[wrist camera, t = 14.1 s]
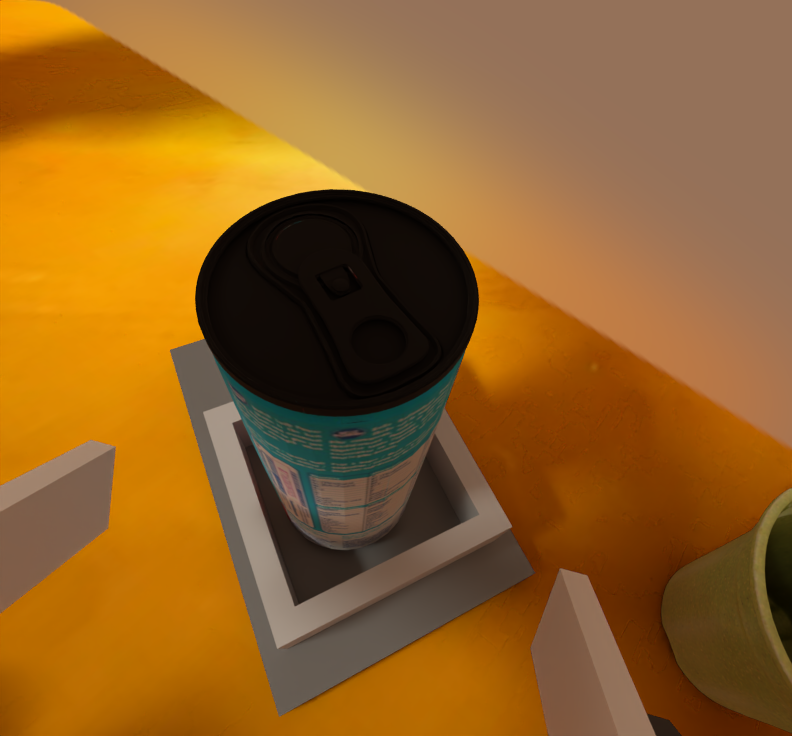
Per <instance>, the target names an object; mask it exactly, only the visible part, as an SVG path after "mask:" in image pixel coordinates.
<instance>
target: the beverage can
mask: <svg viewBox="0 0 792 736" xmlns="http://www.w3.org/2000/svg"><path fill="white" fill-rule="evenodd" d="M195 303H196V313H197V318H198V323H199V326H200V328H201V331H202V333H203V336H204V338H205V340H206V342H207V345H208V347H209V348H210V350H211V352H212V354H213V356H214V359H215V362H216V364H217V366H218V368H219V371H220V373H221V375H222V377H223V380H224V382H225V384H226V386H227V389H228V391H229V393H230V395H231V397H232V400H233V402H234V404H235V406H236V408H237V410H238V413H239V415H240V417H241V419H242V421H243V423H244V426H245V428H246V430H247V432H248V434H249V436H250V438H251V441H252V443H253V445H254V447H255V449H256V451H257V453H258V455H259V458H260V460H261V462H262V464H263V466H264V468H265V470H266V472H267V474H268V476H269V478H270V480H271V482H272V485H273V487H274V489H275V491H276V493H277V495H278V497H279V499H280V501H281V503H282V505H283V507H284V509H285V512H286V515H287V517H288V518H289V520H290V521H291V523H292V524H293V526H294V527H295V529H297V530H298V531H299V532H300V533H301V534H302V535H303V536H304V537H305V538H306V539H308V540H310V541H312V542H313V543H315V544H317V545H319V546H323V547H326V548H329V549H335V550H351V549H357V548H362V547H365V546H367V545H370V544H372V543H374V542H376V541H378V540H379V539H380V538H382V537H383V536H385V535H386V534H388V533H389V531H390V530H391V529H392V528H393V527H394V526H395V525H396V524H397V523H398V521H399V519H400V517H401V516H402V514H403V512H404V510H405V508H406V504H407V502H408V499H409V497H410V494H411V492H412V489H413V487H414V484H415V482H416V479H417V477H418V474H419V472H420V469H421V467H422V464H423V462H424V459H425V456H426V454H427V451H428V449H429V446H430V444H431V441H432V439H433V436H434V433H435V431H436V428H437V426H438V423H439V420H440V418H441V415H442V413H443V410H444V407H445V405H446V402H447V400H448V397H449V394H450V392H451V389H452V386H453V383H454V381H455V378H456V375H457V372H458V370H459V367H460V364H461V362H462V359H463V356H464V353H465V350H466V348H467V345H468V343H469V341H470V338H471V336H472V333H473V331H474V327H475V324H476V321H477V315H478V306H479V295H478V287H477V281H476V277H475V274H474V271H473V268H472V266H471V264H470V261H469V260H468V258H467V256H466V254H465V253H464V251H463V249H462V248H461V247H460V245H459V244H458V243H457V242H456V241H455V239H454V238H453V237H452V236H451V235H450V234H449V233H448V232H447V231H446V230H445V229H444V228H443V227H442V226H441V225H440V224H439V223H437V222H436V221H434V220H433V219H432V218H430V217H429V216H427V215H426V214H424V213H423V212H421V211H419V210H417V209H415V208H414V207H412V206H409V205H407V204H405V203H402V202H400V201H397V200H394V199H392V198H389V197H385V196H382V195H378V194H374V193H369V192H362V191H355V190H333V189H330V190H318V191H310V192H304V193H298V194H294V195H291V196H287V197H283V198H280V199H278V200H275V201H272V202H270V203H267V204H265V205H263V206H261V207H259V208H257V209H255V210H253V211H251V212H250V213H248V214H247V215H245V216H243V217H242V218H240V219H239V220H238V221H237V222H235V223H234V224H233V225H232V226H231V227H229V228H228V229H227V230H226V231H225V232H224V233H223V234H222V235H221V236H220V238H219V239H218V240H217V241H216V242H215V244H214V245H213V247H212V248H211V249H210V251H209V253H208V254H207V256H206V258H205V260H204V262H203V265H202V267H201V270H200V273H199V276H198V280H197V285H196V294H195Z"/></svg>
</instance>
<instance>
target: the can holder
mask: <svg viewBox="0 0 792 736" xmlns="http://www.w3.org/2000/svg"><path fill="white" fill-rule="evenodd" d="M170 352H171V355H172V359H173V362H174V365H175V369H176V372H177V376H178V379H179V382H180V386H181V389H182V392H183V396H184V399H185V402H186V406H187V409H188V412H189V416H190V419H191V422H192V426H193V429H194V433H195V436H196V439H197V443H198V446H199V449H200V453H201V456H202V459H203V463H204V466H205V469H206V473H207V476H208V480H209V483H210V486H211V490H212V493H213V496H214V500H215V503H216V506H217V510H218V513H219V516H220V520H221V523H222V526H223V530H224V533H225V537H226V540H227V543H228V547H229V550H230V553H231V557H232V560H233V563H234V567H235V570H236V573H237V577H238V580H239V583H240V587H241V590H242V594H243V597H244V600H245V604H246V607H247V610H248V614H249V617H250V620H251V624H252V627H253V630H254V634H255V637H256V640H257V644H258V647H259V651H260V654H261V657H262V661H263V664H264V667H265V671H266V674H267V677H268V681H269V684H270V687H271V691H272V694H273V697H274V701H275V704H276V708H277V711H278V714H279V717H280V716H281V715H283V714H285V713H287V712H288V711H290V710H292V709H294V708H296V707H297V706H299V705H301V704H303V703H305V702H306V701H308V700H310V699H312V698H313V697H315V696H317V695H319V694H321V693H322V692H324V691H326V690H328V689H329V688H331V687H333V686H335V685H337V684H338V683H340V682H342V681H344V680H346V679H347V678H349V677H351V676H353V675H354V674H356V673H358V672H360V671H362V670H363V669H365V668H367V667H369V666H370V665H372V664H374V663H376V662H378V661H379V660H381V659H383V658H385V657H387V656H388V655H390V654H392V653H394V652H395V651H397V650H399V649H401V648H403V647H404V646H406V645H408V644H410V643H411V642H413V641H415V640H417V639H419V638H420V637H422V636H424V635H426V634H428V633H429V632H431V631H433V630H435V629H436V628H438V627H440V626H442V625H444V624H445V623H447V622H449V621H451V620H452V619H454V618H456V617H458V616H460V615H461V614H463V613H465V612H467V611H469V610H470V609H472V608H474V607H476V606H477V605H479V604H481V603H483V602H485V601H486V600H488V599H490V598H492V597H493V596H495V595H497V594H499V593H501V592H502V591H504V590H506V589H508V588H509V587H511V586H513V585H515V584H517V583H518V582H520V581H522V580H524V579H526V578H527V577H529V576H531V575H533V574H534V573H535V572H534V570H533V568H532V567H531V565H530V563H529V561H528V560H527V558H526V556H525V554H524V553H523V551H522V549H521V547H520V546H519V544H518V542H517V540H516V539H515V537H514V535H513V533H512V532H511V530H510V528H511V527H512V525H511V523H510V522H509V520H508V518H507V516H506V515H505V513H504V511H503V509H502V508H501V506H500V504H499V502H498V501H497V499H496V497H495V495H494V494H493V492H492V490H491V488H490V487H489V485H488V483H487V481H486V480H485V478H484V476H483V474H482V473H481V471H480V469H479V467H478V466H477V464H476V462H475V460H474V459H473V457H472V455H471V453H470V452H469V450H468V448H467V446H466V445H465V443H464V441H463V439H462V438H461V436H460V434H459V432H458V431H457V429H456V427H455V425H454V424H453V422H452V420H451V418H450V417H449V415H448V413H447V411H446V410H445V408H444V410H443V413H442V415H441V418H440V420H439V423H438V426H437V428H436V431H435V433H434V436H433V439H432V441H431V444H430V446H429V449H428V451H427V454H426V456H425V459H424V462H423V464H422V467H421V469H420V472H419V474H418V477H417V479H416V482H415V484H414V487H413V489H412V492H411V494H410V497H409V499H408V502H407V504H406V508H405V510H404V512H403V514H402V516H401V517H400V519H399V521H398V523H397V524H396V525H395V526H394V527H393V528H392V529H391V530H390V531H389V533H388V534H386V535H385V536H383V537H382V538H380V539H379V540H378V541H376V542H374V543H372V544H370V545H367V546H365V547H362V548H357V549H351V550H335V549H329V548H326V547H323V546H319V545H317V544H315V543H313V542H312V541H310V540H308V539H306V538H305V537H304V536H303V535H302V534H301V533H300V532H299V531H298V530H297V529H295V527H294V526H293V524H292V523H291V521H290V520H289V518H288V517H287V515H286V512H285V509H284V507H283V505H282V503H281V501H280V499H279V497H278V495H277V493H276V491H275V489H274V487H273V485H272V482H271V480H270V478H269V476H268V474H267V472H266V470H265V468H264V466H263V464H262V462H261V460H260V458H259V455H258V453H257V451H256V449H255V447H254V445H253V443H252V441H251V438H250V436H249V434H248V432H247V430H246V428H245V426H244V423H243V421H242V419H241V417H240V415H239V413H238V410H237V408H236V406H235V404H234V402H233V400H232V397H231V395H230V393H229V391H228V389H227V386H226V384H225V382H224V380H223V377H222V375H221V373H220V371H219V368H218V366H217V364H216V362H215V359H214V356H213V354H212V352H211V350H210V348H209V347H208V345H207V342H206V340H205V339H203V340H200V341H197V342H194V343H191V344H187V345H184V346H181V347H178V348H175V349H172V350H170Z"/></svg>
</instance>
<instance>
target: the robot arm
mask: <svg viewBox="0 0 792 736" xmlns="http://www.w3.org/2000/svg"><path fill="white" fill-rule="evenodd" d="M115 448H116V447H115V446H111V445H108V444H104V443H100V442H97V441H93V440H90V441H88V442H86V443H84V444H82V445H80V446H78V447H76V448H74V449H72V450H70V451H68V452H66V453H64V454H62V455H61V456H59V457H57V458H55V459H53V460H51V461H49V462H47V463H45V464H43V465H41V466H39V467H37V468H35V469H33V470H31V471H29V472H27V473H25V474H23V475H21V476H19V477H17V478H15V479H13V480H11V481H9V482H7V483H5V484H3V485H1V486H0V613H1V612H3V611H4V610H5V609H6V608H8V607H9V606H10V605H11V604H13V603H14V602H15V601H17V600H18V599H19V598H20V597H22V596H23V595H24V594H25V593H27V592H28V591H29V590H30V589H32V588H33V587H34V586H36V585H37V584H38V583H39V582H41V581H42V580H43V579H44V578H46V577H47V576H48V575H49V574H51V573H52V572H53V571H55V570H56V569H57V568H58V567H60V566H61V565H62V564H63V563H65V562H66V561H67V560H68V559H70V558H71V557H72V556H73V555H75V554H76V553H77V552H79V551H80V550H81V549H82V548H84V547H85V546H86V545H87V544H89V543H90V542H91V541H92V540H94V539H95V538H96V537H98V536H99V535H100V534H101V533H103V532H104V531H105V530H106V529H108V522H109V512H110V501H111V490H112V480H113V469H114V459H115ZM531 653H532V658H533V663H534V667H535V672H536V677H537V682H538V687H539V692H540V697H541V702H542V707H543V712H544V717H545V721H546V726H547V731H548V736H681V734H680V733H679V732H678V731H677V729H676V728H675V727H674V726H673V724H672V723H671V722H670V721H669V720H667V719H663V718H660V717H656V716H653V715H649V714H646V711H645V709H644V707H643V704H642V702H641V700H640V697H639V695H638V693H637V690H636V688H635V686H634V683H633V681H632V679H631V676H630V674H629V672H628V669H627V667H626V665H625V662H624V660H623V658H622V655H621V653H620V651H619V648H618V646H617V644H616V641H615V639H614V637H613V634H612V632H611V630H610V627H609V625H608V623H607V620H606V618H605V616H604V613H603V611H602V609H601V606H600V604H599V602H598V599H597V597H596V595H595V592H594V590H593V588H592V585H591V583H590V581H589V578H588V576H587V575H583V574H580V573H576V572H572V571H569V570H565V569H561V568H560V569H559V572H558V575H557V578H556V580H555V583H554V586H553V588H552V591H551V594H550V597H549V599H548V602H547V605H546V607H545V610H544V613H543V616H542V618H541V621H540V624H539V626H538V629H537V632H536V635H535V637H534V640H533V643H532V645H531Z"/></svg>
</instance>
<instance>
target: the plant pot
mask: <svg viewBox="0 0 792 736" xmlns="http://www.w3.org/2000/svg"><path fill="white" fill-rule="evenodd" d="M661 617H662V624H663V627H664V630H665V632H666V634H667V636H668V639H669V641H670V644H671V647H672V650H673V653H674V655H675V659H676V662H677V664H678V665H679V667H680V669H681V670H682V671H683V673H684V674H685V676H686V677H687V678H688V679H689V680H690V681H691V683H692V684H693V685H694V686H695V687H696V688H697V689H698V690H699V691H701V692H702V693H703V694H704V695H706V696H707V697H708V698H710V699H711V700H713V701H714V702H716V703H718V704H720V705H721V706H724V707H726V708H728V709H730V710H733V711H735V712H738V713H740V714H743V715H745V716H748V717H750V718H753V719H756V720H758V721H761V722H764V723H767V724H769V725H772V726H775V727H777V728H780V729H782V730H785V731H787V732H790V733H792V488H790V489H788V490H786V491H785V492H783V493H782V494H780V495H779V496H778V497H777V498H776V499H774V500H773V502H772V503H771V504H770V505H769V506H768V507H767V509H766V510H765V512H764V513H763V515H762V516H761V518H760V520H759V522H758V523H757V524H756V525H755V526H754V528H753V529H752V530H751V531H749V532H747V533H746V534H744V535H742V536H740V537H738V538H736V539H734V540H733V541H731V542H729V543H727V544H725V545H723V546H721V547H720V548H718V549H716V550H714V551H712V552H710V553H708V554H706V555H704V556H702V557H700V558H698V559H697V560H695V561H693V562H691V563H689V564H687V565H685V566H684V567H682V568H681V569H679V570H678V571H677V572H676V573H675V574H674V575H673V576H672V578H671V579H670V580H669V582H668V584H667V586H666V588H665V591H664V594H663V599H662V606H661Z"/></svg>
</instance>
